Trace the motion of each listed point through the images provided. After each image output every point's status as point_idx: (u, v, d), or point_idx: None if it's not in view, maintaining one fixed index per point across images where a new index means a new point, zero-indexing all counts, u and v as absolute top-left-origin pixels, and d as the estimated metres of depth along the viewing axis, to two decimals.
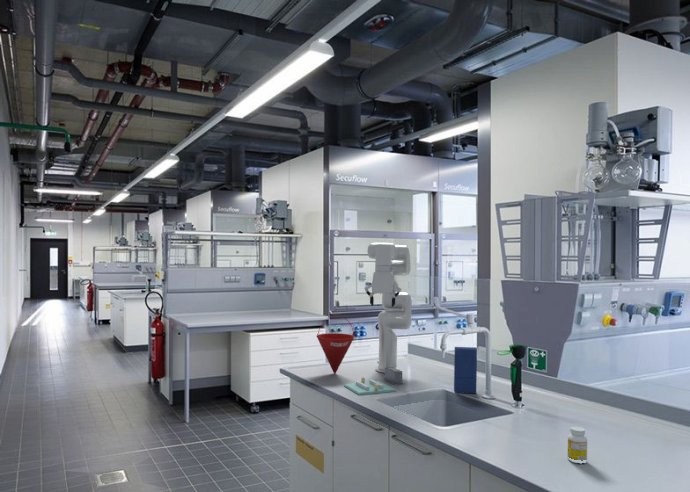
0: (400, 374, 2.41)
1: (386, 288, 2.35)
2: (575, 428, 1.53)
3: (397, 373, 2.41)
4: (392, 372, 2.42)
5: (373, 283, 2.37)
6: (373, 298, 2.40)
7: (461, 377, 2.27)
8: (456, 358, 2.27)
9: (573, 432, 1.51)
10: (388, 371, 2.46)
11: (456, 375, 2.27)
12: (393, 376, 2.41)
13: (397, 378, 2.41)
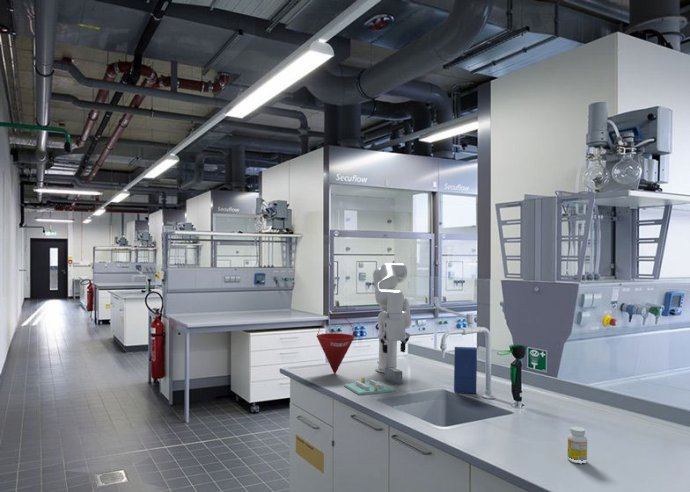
0: (400, 374, 2.41)
1: None
2: (575, 428, 1.53)
3: (397, 373, 2.41)
4: (392, 372, 2.42)
5: None
6: (403, 345, 2.46)
7: (461, 377, 2.27)
8: (456, 358, 2.27)
9: (573, 432, 1.51)
10: (388, 371, 2.46)
11: (456, 375, 2.27)
12: (393, 376, 2.41)
13: (397, 378, 2.41)
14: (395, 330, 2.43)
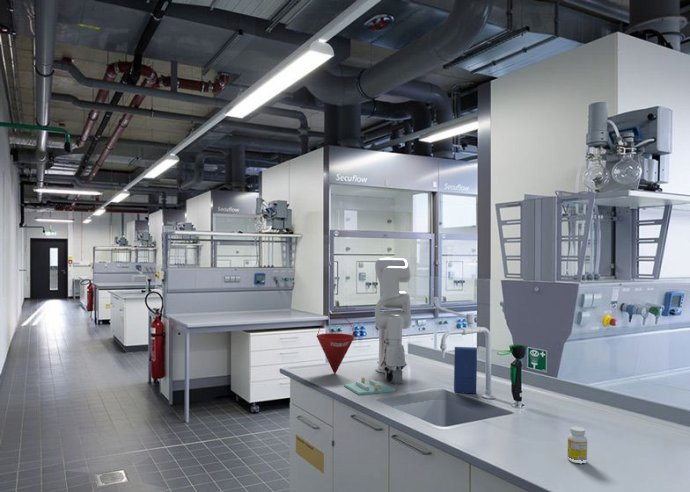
0: (400, 374, 2.41)
1: None
2: (575, 428, 1.53)
3: (397, 373, 2.41)
4: (392, 372, 2.42)
5: None
6: None
7: (461, 377, 2.27)
8: (456, 358, 2.27)
9: (573, 432, 1.51)
10: None
11: (456, 375, 2.27)
12: (393, 376, 2.41)
13: (397, 378, 2.41)
14: (394, 356, 2.43)
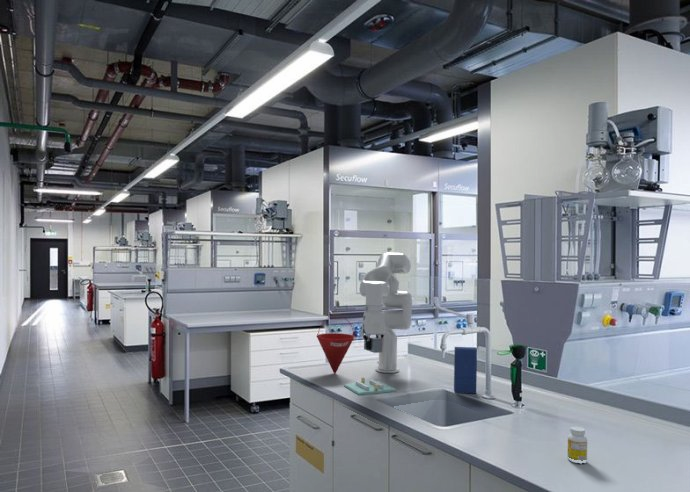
0: (380, 342, 2.29)
1: None
2: (575, 428, 1.53)
3: (377, 340, 2.28)
4: (371, 340, 2.30)
5: None
6: None
7: (461, 377, 2.27)
8: (456, 358, 2.27)
9: (573, 432, 1.51)
10: None
11: (456, 375, 2.27)
12: (372, 344, 2.29)
13: (376, 346, 2.28)
14: (374, 323, 2.30)
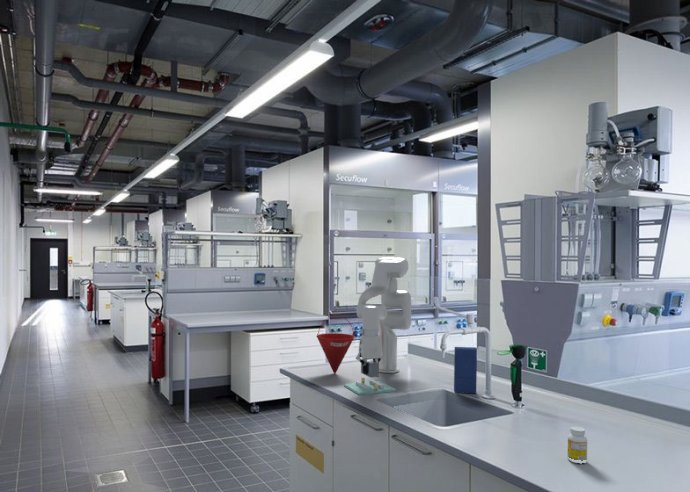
0: (376, 366, 2.27)
1: None
2: (575, 428, 1.53)
3: (373, 365, 2.26)
4: (368, 364, 2.28)
5: None
6: None
7: (461, 377, 2.27)
8: (456, 358, 2.27)
9: (573, 432, 1.51)
10: None
11: (456, 375, 2.27)
12: (369, 368, 2.27)
13: (373, 370, 2.26)
14: (371, 347, 2.29)
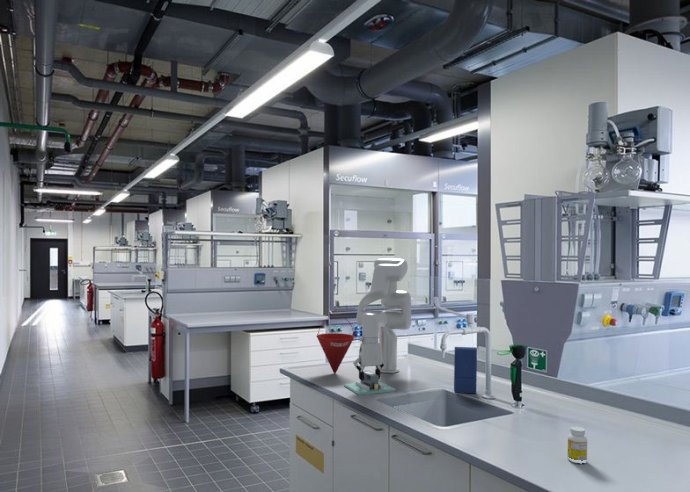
0: (376, 378, 2.27)
1: None
2: (575, 428, 1.53)
3: (373, 377, 2.26)
4: (368, 376, 2.28)
5: None
6: (377, 372, 2.32)
7: (461, 377, 2.27)
8: (456, 358, 2.27)
9: (573, 432, 1.51)
10: (364, 375, 2.32)
11: (456, 375, 2.27)
12: (369, 380, 2.27)
13: (373, 382, 2.26)
14: (370, 355, 2.29)
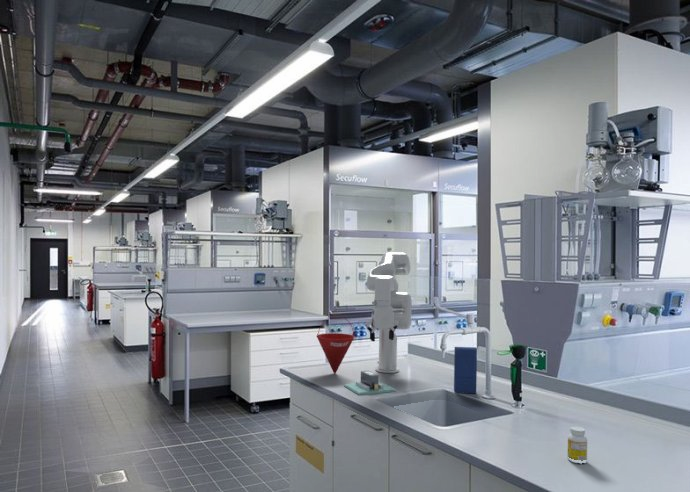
0: (376, 378, 2.27)
1: None
2: (575, 428, 1.53)
3: (373, 377, 2.26)
4: (368, 376, 2.28)
5: None
6: (391, 333, 2.38)
7: (461, 377, 2.27)
8: (456, 358, 2.27)
9: (573, 432, 1.51)
10: (364, 375, 2.32)
11: (456, 375, 2.27)
12: (369, 380, 2.27)
13: (373, 382, 2.26)
14: (383, 318, 2.34)
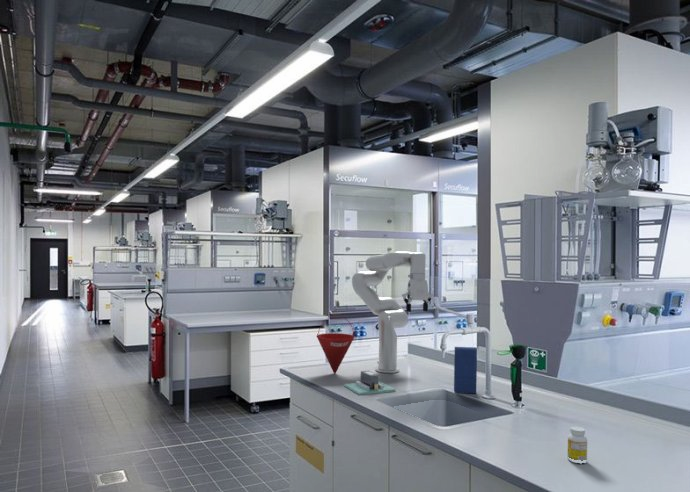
0: (376, 378, 2.27)
1: None
2: (575, 428, 1.53)
3: (373, 377, 2.26)
4: (368, 376, 2.28)
5: None
6: (425, 304, 2.55)
7: (461, 377, 2.27)
8: (456, 358, 2.27)
9: (573, 432, 1.51)
10: (364, 375, 2.32)
11: (456, 375, 2.27)
12: (369, 380, 2.27)
13: (373, 382, 2.26)
14: (418, 290, 2.51)
